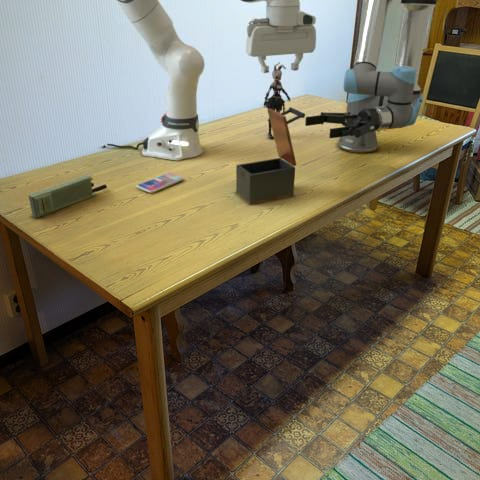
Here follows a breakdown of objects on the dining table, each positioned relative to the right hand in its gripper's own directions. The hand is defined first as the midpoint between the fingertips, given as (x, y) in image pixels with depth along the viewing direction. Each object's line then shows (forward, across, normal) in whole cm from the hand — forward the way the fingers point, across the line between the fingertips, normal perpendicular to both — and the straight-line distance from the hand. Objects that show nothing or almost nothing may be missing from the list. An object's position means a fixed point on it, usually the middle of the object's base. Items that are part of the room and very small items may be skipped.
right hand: (317, 127), depth 155 cm
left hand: (+14, 0, +18) cm, 23 cm away
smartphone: (+45, +21, -19) cm, 53 cm away
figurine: (-13, +50, -19) cm, 55 cm away
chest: (+18, 0, -19) cm, 26 cm away
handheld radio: (+73, +18, -19) cm, 78 cm away
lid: (+13, 0, -2) cm, 13 cm away
